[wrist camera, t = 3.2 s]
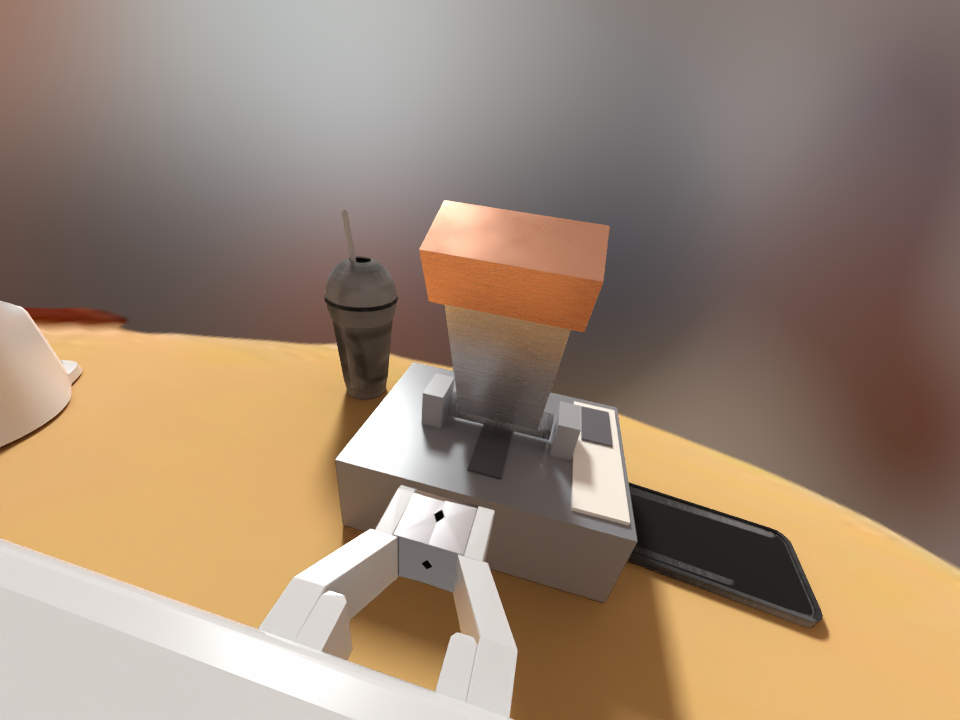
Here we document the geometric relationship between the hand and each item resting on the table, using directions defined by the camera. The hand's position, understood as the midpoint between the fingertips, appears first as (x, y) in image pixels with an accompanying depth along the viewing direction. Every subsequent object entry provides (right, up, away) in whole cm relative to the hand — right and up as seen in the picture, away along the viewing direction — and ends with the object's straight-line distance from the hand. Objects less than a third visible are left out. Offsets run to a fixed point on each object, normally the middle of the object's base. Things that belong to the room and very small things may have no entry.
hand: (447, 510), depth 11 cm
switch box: (+2, -7, +22) cm, 23 cm away
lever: (+3, 0, +18) cm, 18 cm away
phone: (+19, -11, +20) cm, 30 cm away
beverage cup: (-13, +1, +33) cm, 35 cm away
